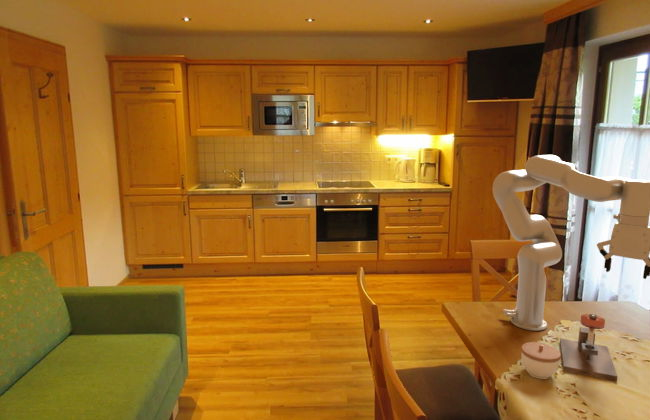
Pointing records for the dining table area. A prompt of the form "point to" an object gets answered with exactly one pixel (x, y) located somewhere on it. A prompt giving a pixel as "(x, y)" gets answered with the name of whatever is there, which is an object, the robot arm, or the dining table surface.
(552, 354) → the lidded jar
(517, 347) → the dining table surface
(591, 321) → the orange knobbed disc
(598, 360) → the eye stand
